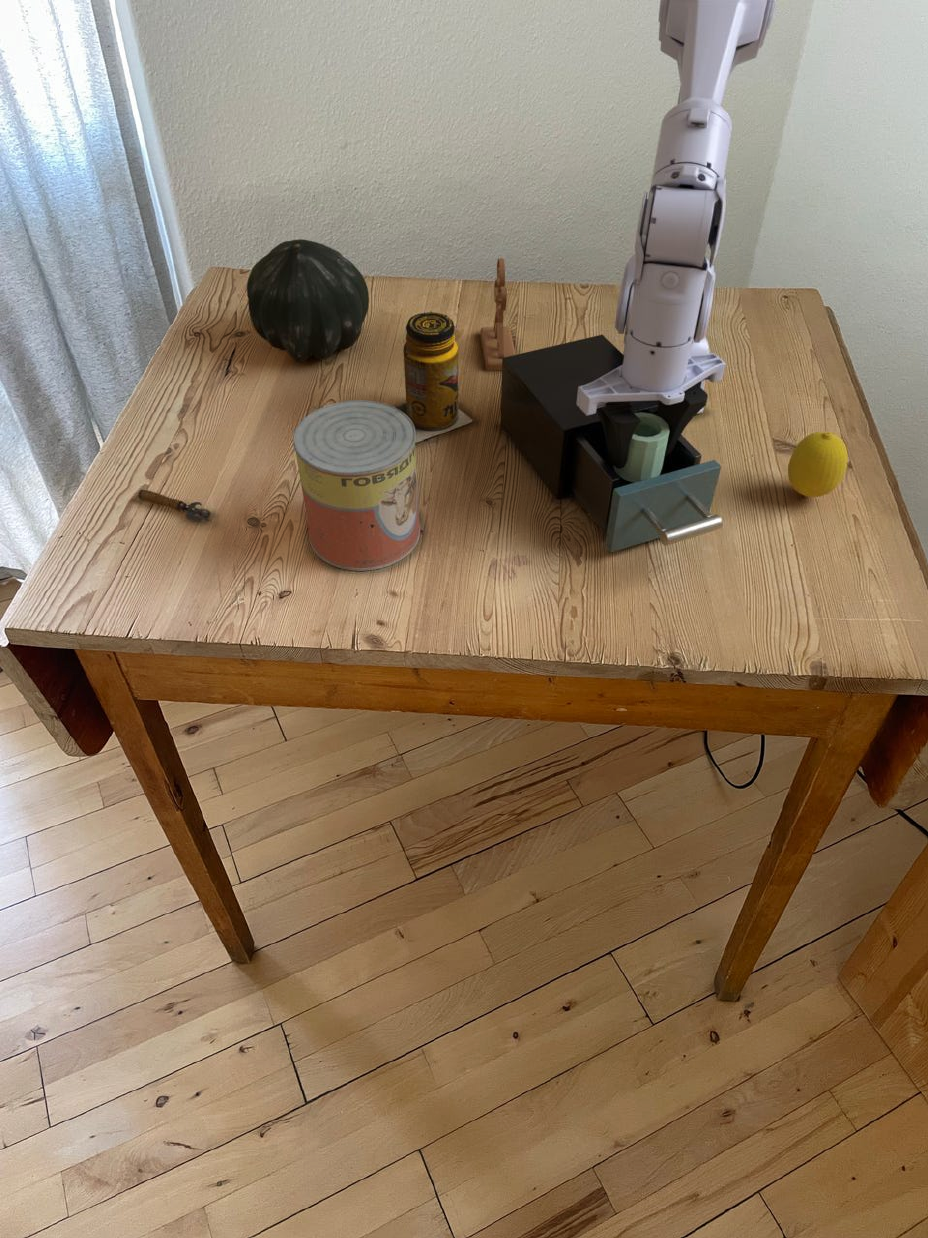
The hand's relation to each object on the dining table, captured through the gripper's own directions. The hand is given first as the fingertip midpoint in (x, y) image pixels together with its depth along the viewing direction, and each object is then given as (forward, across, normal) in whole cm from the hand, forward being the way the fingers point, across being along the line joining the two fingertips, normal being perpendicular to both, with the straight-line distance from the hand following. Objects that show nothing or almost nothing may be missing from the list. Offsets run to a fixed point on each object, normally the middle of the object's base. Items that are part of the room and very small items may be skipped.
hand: (638, 456), depth 89 cm
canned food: (+7, -26, +8) cm, 28 cm away
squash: (+7, -20, +45) cm, 50 cm away
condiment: (+7, -14, +24) cm, 28 cm away
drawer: (+6, 0, -1) cm, 6 cm away
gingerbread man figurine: (+7, 0, +34) cm, 34 cm away
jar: (+2, 0, 0) cm, 2 cm away
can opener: (+7, -44, +19) cm, 48 cm away
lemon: (+7, +18, -5) cm, 21 cm away
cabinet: (+7, 0, +12) cm, 14 cm away
